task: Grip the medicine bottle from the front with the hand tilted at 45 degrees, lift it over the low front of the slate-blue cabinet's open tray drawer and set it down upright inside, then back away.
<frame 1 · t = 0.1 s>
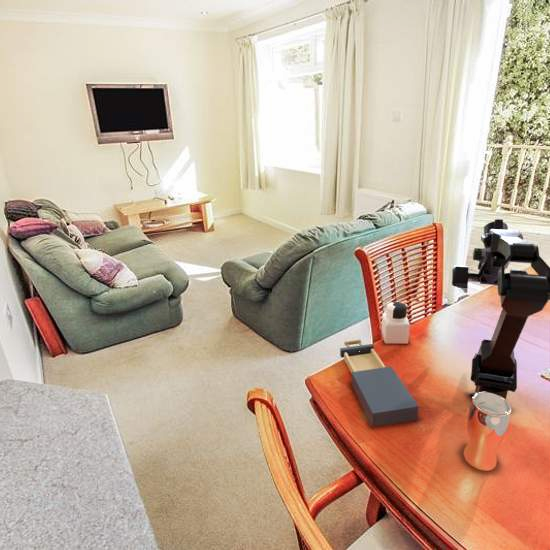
hand: (482, 293, 113), 15 cm above the table, tool tilted 35°, fingers open, 9 cm apart
beer glass: (479, 458, 78), on the table
medicine bottle: (394, 338, 120), on the table
cabinet: (382, 400, 95), on the table
drawer: (362, 360, 108), point 2 cm above the table, slide at 11.0 cm
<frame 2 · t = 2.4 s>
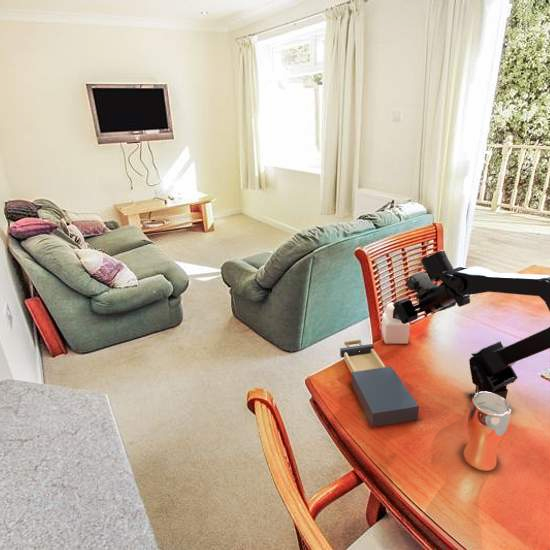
hand: (408, 313, 112), 11 cm above the table, tool tilted 45°, fingers open, 9 cm apart
nothing on the table moved.
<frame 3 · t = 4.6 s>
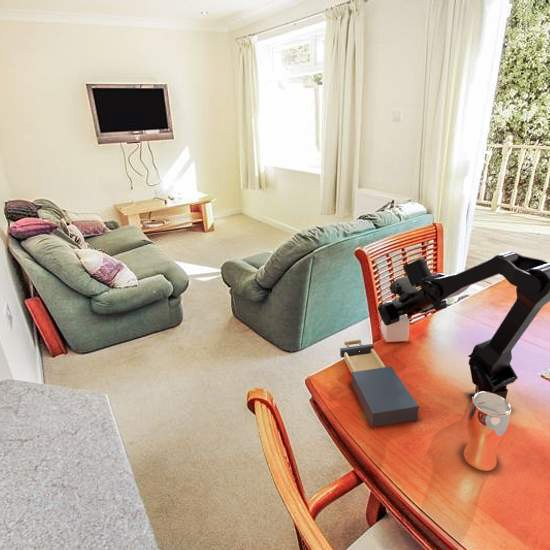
hand: (393, 315, 119), 7 cm above the table, tool tilted 45°, fingers closed on medicine bottle, 9 cm apart
medicine bottle: (394, 336, 121), on the table, touching gripper
everything else where it was.
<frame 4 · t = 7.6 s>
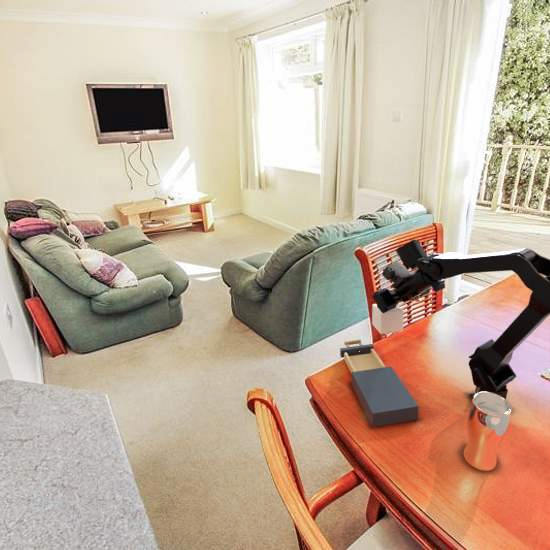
hand: (385, 303, 114), 13 cm above the table, tool tilted 45°, fingers closed on medicine bottle, 6 cm apart
medicine bottle: (387, 328, 116), point 5 cm above the table, touching gripper
everything else where it was.
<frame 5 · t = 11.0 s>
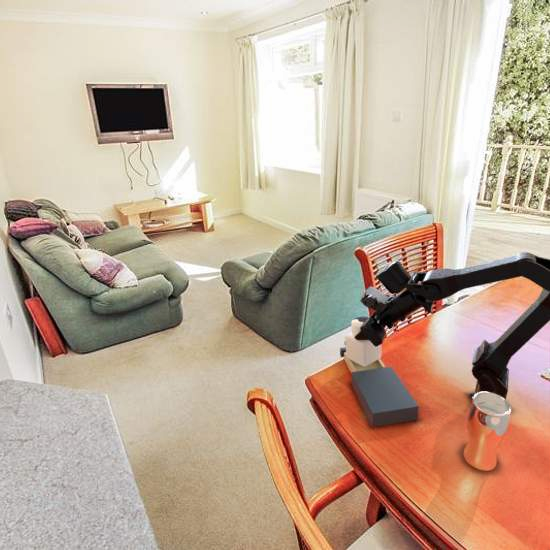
hand: (359, 332, 104), 11 cm above the table, tool tilted 45°, fingers closed on medicine bottle, 6 cm apart
medicine bottle: (363, 358, 106), point 3 cm above the table, touching drawer, gripper
drawer: (362, 359, 108), point 2 cm above the table, slide at 11.1 cm, touching medicine bottle
everything else where it was.
when the fingers open (11 cm above the table, at t = 11.2 s): medicine bottle stays where it is, resting on drawer.
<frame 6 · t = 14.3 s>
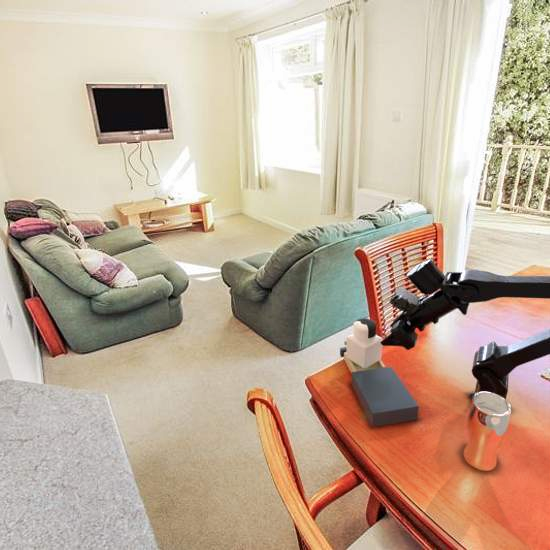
hand: (386, 335, 100), 13 cm above the table, tool tilted 45°, fingers open, 9 cm apart
medicine bottle: (363, 359, 106), point 3 cm above the table, touching drawer
everything else where it was.
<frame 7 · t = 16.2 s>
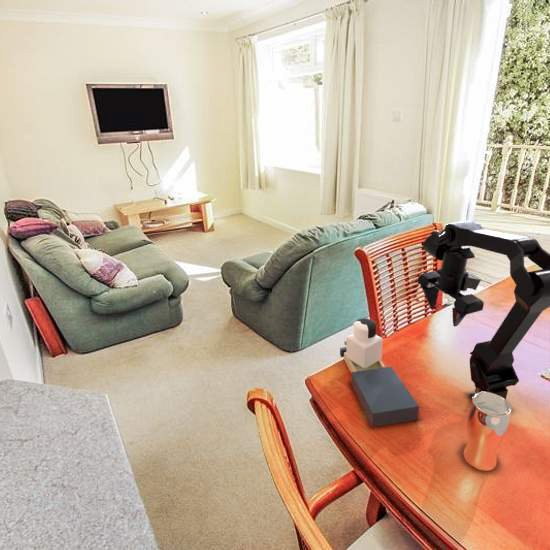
hand: (443, 317, 105), 13 cm above the table, tool pointing down, fingers open, 9 cm apart
nothing on the table moved.
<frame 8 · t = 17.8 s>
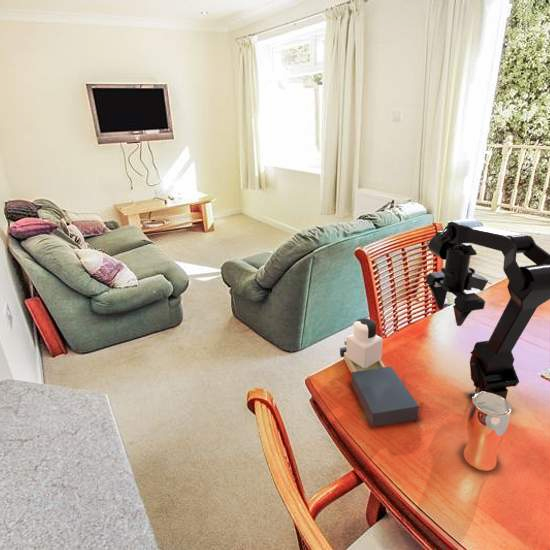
hand: (449, 317, 105), 13 cm above the table, tool pointing down, fingers open, 9 cm apart
nothing on the table moved.
at the end: medicine bottle inside the target area in the drawer (0.2 cm from its centre), point 3.1 cm above the cabinet's base; medicine bottle tilted 0°; the gripper is holding nothing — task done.
